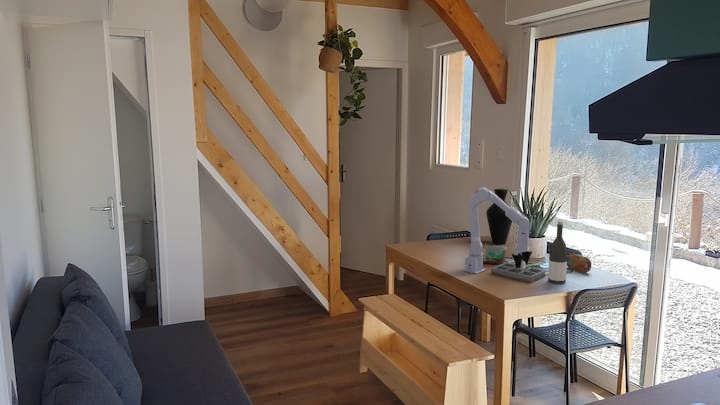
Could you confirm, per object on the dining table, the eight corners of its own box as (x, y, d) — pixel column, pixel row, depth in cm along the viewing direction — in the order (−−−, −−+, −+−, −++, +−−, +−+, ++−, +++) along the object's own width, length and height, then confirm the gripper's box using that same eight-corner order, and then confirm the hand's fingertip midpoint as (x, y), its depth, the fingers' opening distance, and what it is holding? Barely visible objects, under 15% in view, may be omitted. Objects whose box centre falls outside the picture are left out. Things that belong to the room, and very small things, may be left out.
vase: (485, 245, 321) (487, 191, 316) (485, 239, 338) (486, 187, 332) (513, 247, 317) (516, 191, 312) (511, 240, 334) (514, 188, 328)
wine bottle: (556, 285, 243) (560, 223, 239) (544, 280, 251) (547, 220, 246) (569, 282, 246) (573, 222, 242) (556, 278, 254) (560, 219, 249)
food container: (481, 263, 281) (482, 245, 280) (484, 260, 287) (485, 243, 285) (504, 266, 276) (504, 248, 274) (506, 263, 281) (507, 245, 280)
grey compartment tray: (531, 282, 247) (531, 276, 246) (491, 273, 262) (491, 268, 262) (545, 276, 257) (545, 270, 257) (505, 267, 273) (505, 262, 272)
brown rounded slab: (564, 267, 273) (565, 252, 272) (569, 266, 274) (570, 251, 273) (587, 274, 259) (588, 258, 258) (591, 274, 261) (593, 258, 259)
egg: (523, 273, 259) (523, 261, 258) (515, 271, 262) (516, 260, 261) (526, 271, 262) (527, 260, 261) (519, 270, 265) (520, 258, 264)
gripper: (523, 244, 252) (522, 270, 254) (536, 239, 262) (535, 264, 264) (510, 241, 256) (509, 267, 259) (523, 237, 267) (522, 262, 269)
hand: (521, 266), depth 262 cm, fingers open, 7 cm apart
